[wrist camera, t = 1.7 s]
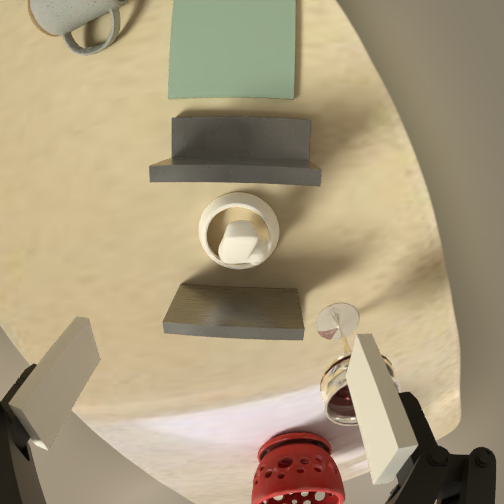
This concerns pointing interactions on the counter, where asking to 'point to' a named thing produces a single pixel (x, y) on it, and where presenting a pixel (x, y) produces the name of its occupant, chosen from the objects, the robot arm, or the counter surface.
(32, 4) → the ceramic mug
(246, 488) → the counter surface
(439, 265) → the counter surface
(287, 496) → the plant pot
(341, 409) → the wineglass
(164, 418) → the counter surface
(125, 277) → the counter surface
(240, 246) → the white curved piece
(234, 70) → the mat
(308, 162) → the dark grey bookends
